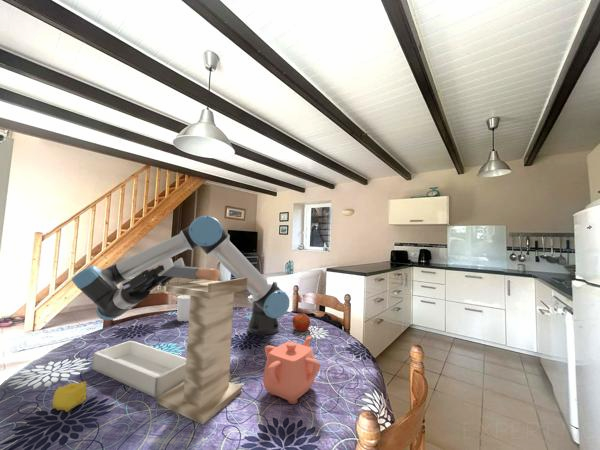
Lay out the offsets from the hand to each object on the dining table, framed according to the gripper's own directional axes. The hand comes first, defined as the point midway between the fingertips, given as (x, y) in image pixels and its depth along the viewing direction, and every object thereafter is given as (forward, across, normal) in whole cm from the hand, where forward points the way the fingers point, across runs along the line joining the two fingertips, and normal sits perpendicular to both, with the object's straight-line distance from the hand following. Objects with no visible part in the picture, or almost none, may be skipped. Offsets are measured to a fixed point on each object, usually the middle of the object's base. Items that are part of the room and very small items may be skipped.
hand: (177, 262), depth 73 cm
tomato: (-5, -61, -39) cm, 72 cm away
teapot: (+11, -15, -48) cm, 51 cm away
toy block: (-29, +17, -24) cm, 42 cm away
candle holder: (-57, -44, -8) cm, 73 cm away
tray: (-29, 0, -24) cm, 38 cm away
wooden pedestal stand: (-7, 0, -37) cm, 38 cm away
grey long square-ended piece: (+2, 0, -6) cm, 6 cm away
